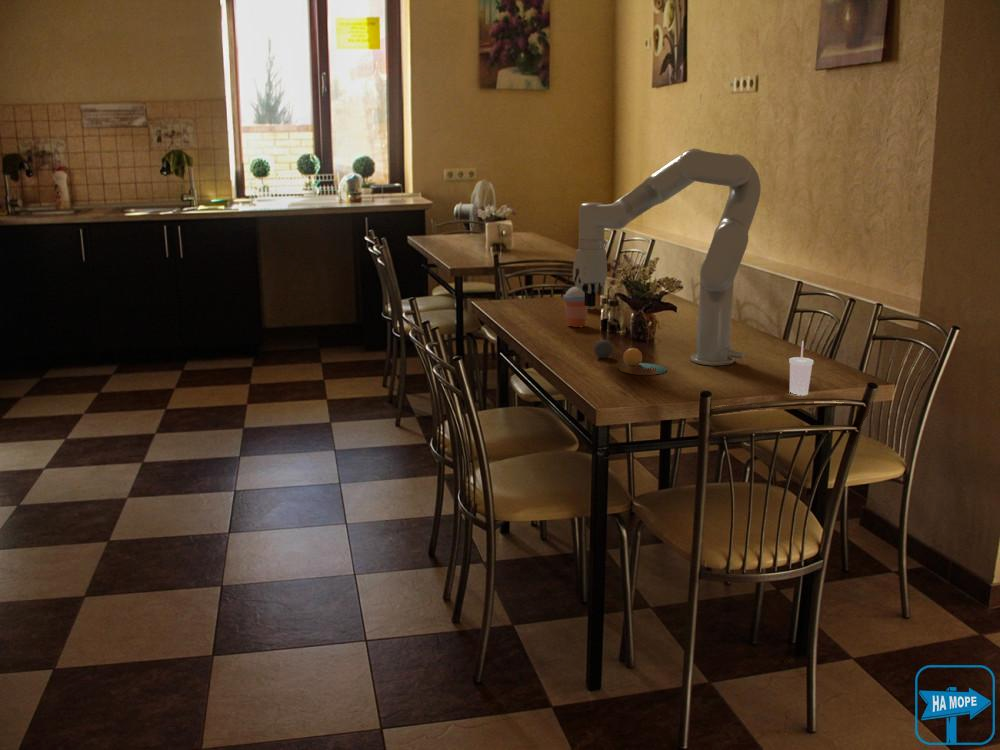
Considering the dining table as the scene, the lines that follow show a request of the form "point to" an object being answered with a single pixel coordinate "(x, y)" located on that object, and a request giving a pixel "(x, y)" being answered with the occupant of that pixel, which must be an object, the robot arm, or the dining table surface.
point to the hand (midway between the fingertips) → (589, 305)
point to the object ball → (632, 357)
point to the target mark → (658, 368)
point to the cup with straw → (575, 307)
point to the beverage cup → (800, 374)
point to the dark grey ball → (603, 349)
